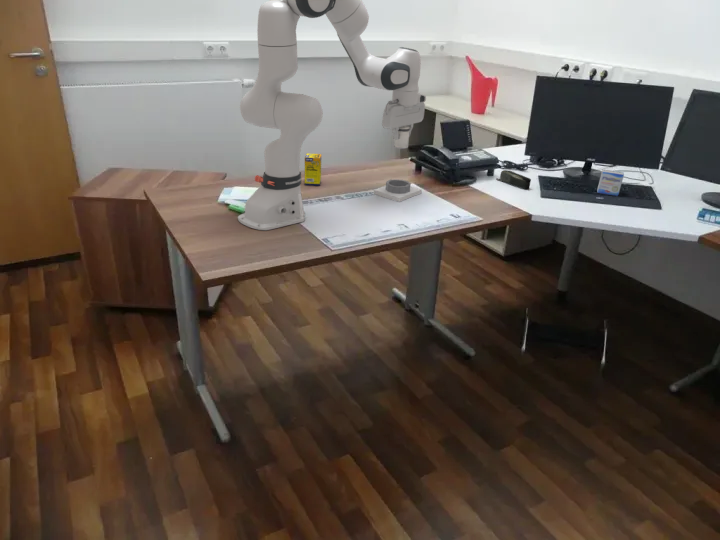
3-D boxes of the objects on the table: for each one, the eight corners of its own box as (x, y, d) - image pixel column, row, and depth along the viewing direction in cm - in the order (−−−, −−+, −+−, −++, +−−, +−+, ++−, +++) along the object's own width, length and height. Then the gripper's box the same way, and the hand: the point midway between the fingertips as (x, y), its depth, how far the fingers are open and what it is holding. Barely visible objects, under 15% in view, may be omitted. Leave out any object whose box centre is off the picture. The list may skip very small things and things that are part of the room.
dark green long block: (532, 177, 216) (501, 167, 226) (528, 179, 215) (497, 168, 224) (529, 189, 219) (499, 178, 229) (525, 191, 217) (494, 180, 227)
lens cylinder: (402, 149, 196) (404, 129, 192) (391, 146, 198) (392, 126, 195) (410, 146, 199) (412, 127, 196) (399, 143, 202) (401, 124, 199)
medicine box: (596, 193, 218) (602, 171, 214) (597, 189, 222) (602, 168, 218) (618, 196, 215) (624, 174, 211) (618, 192, 219) (623, 171, 215)
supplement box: (320, 186, 210) (320, 158, 205) (304, 185, 210) (304, 157, 205) (321, 181, 216) (321, 153, 211) (306, 180, 216) (306, 153, 211)
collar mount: (399, 202, 199) (399, 191, 197) (373, 193, 205) (373, 183, 203) (421, 193, 208) (422, 183, 206) (396, 185, 215) (396, 175, 213)
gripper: (393, 102, 182) (391, 144, 188) (428, 96, 196) (425, 135, 202) (379, 99, 185) (376, 140, 192) (414, 93, 200) (411, 131, 206)
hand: (401, 137), depth 197 cm, fingers closed on lens cylinder, 5 cm apart
